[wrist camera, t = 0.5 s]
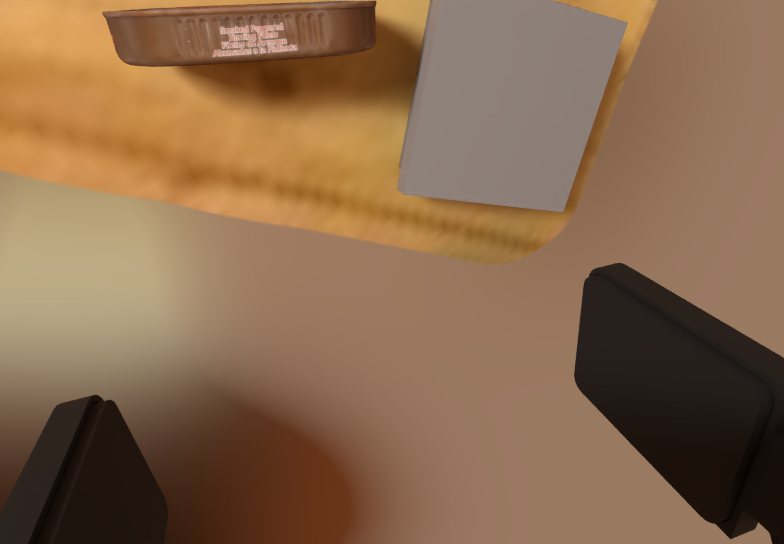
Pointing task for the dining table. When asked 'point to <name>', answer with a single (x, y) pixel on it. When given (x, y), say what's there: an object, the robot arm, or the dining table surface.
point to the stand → (505, 100)
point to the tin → (241, 32)
